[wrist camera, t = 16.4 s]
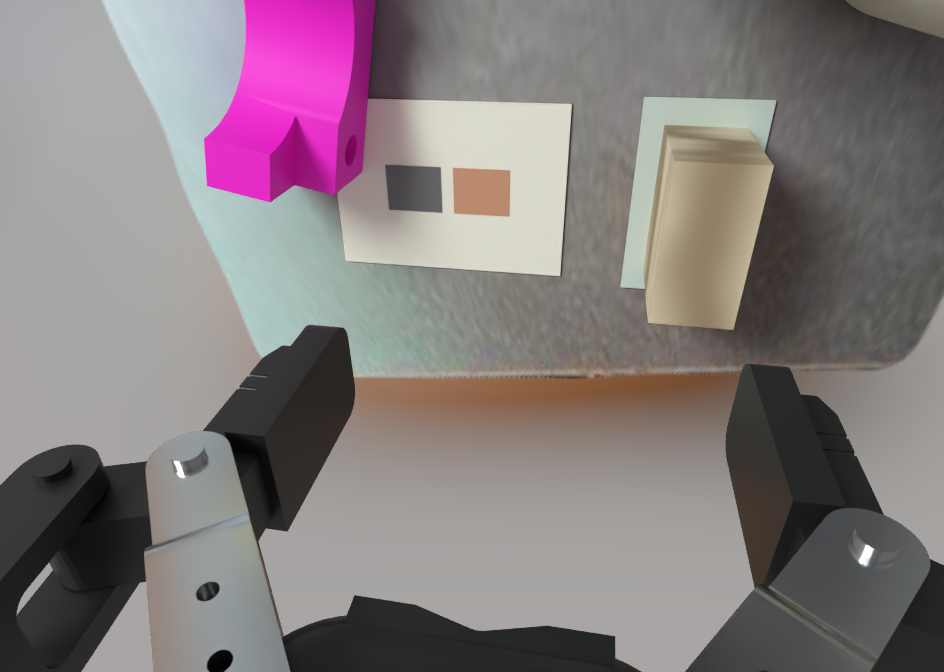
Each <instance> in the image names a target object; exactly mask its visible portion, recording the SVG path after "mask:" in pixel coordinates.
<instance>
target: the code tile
mask: <svg viewBox="0 0 944 672" xmlns="http://www.w3.org/2000/svg"><path fill="white" fill-rule="evenodd" d="M571 109H572V104H554V103H517V102H480V101H444V100H407V99H371V98H368V105H367V117H366V130H365V143H364V156H363V169H362V173H361V174H359V175H358V176H357V177H356V178H355V179H353V180H352V181H351V182H350V183H349V184H347V185H346V186H345V187H344V188H343V189H341V190H340V191H339V192H338V193H337V195H338V203H339V211H340V219H341V226H342V234H343V242H344V250H345V257H346V261H353V262H367V263H382V264H396V265H410V266H424V267H438V268H452V269H467V270H481V271H495V272H509V273H523V274H538V275H552V276H560V271H561V256H562V242H563V227H564V212H565V197H566V183H567V168H568V153H569V138H570V124H571Z"/></svg>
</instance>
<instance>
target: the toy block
mask: <svg viewBox="0 0 944 672" xmlns="http://www.w3.org/2000/svg"><path fill="white" fill-rule="evenodd" d="M375 2H376V0H244V3H245V14H246V44H245V55H244V62H243V67H242V73H241V77H240V81H239V84H238V87H237V91H236V93H235V96H234V99H233V101H232V103H231V105H230V108H229V109H228V111H227V113H226V115H225V116H224V118H223V119H222V121H221V122H220V124H219V125H218V126H217V127H216V128H215V130H213V131H212V132H211V133H210V134H209V135H208V136H207V137H205V138H204V143H205V159H206V176H207V186H209V187H213V188H217V189H221V190H225V191H229V192H232V193H236V194H240V195H244V196H248V197H252V198H256V199H259V200H263V201H267V202H271V201H273V200H274V199H275V198H277V197H278V196H280V195H281V194H282V193H284V192H285V191H287V190H288V189H290V188H291V187H292V186H294V185H297V186H301V187H304V188H308V189H312V190H316V191H320V192H324V193H328V194H332V195H335V194H337V193H338V192H339V191H340V190H341V189H343V188H344V187H345V186H346V185H347V184H349V183H350V182H351V181H352V180H353V179H355V178H356V177H357V176H358V175H359V174H361V173H362V169H363V156H364V143H365V130H366V117H367V105H368V92H369V79H370V66H371V53H372V41H373V28H374V15H375Z"/></svg>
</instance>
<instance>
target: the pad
mask: <svg viewBox="0 0 944 672" xmlns="http://www.w3.org/2000/svg"><path fill="white" fill-rule="evenodd" d="M776 101H777V100H755V99H716V98H676V97H644V102H643V110H642V118H641V126H640V134H639V142H638V150H637V158H636V166H635V174H634V182H633V190H632V198H631V206H630V214H629V222H628V230H627V238H626V246H625V254H624V262H623V270H622V279H621V287H625V288H639V289H645V285H644V275H643V263H644V257H645V250H646V243H647V237H648V230H649V224H650V217H651V210H652V204H653V197H654V190H655V184H656V177H657V170H658V164H659V157H660V150H661V144H662V137H663V130H664V125H679V126H705V127H731V128H748V130H749V131H750V133H751V134H752V135H753V137H754V138H755V140H756V141H757V143H758V144H759V145H760V147H761V148H762V150H763V151H764V152H765V148H766V144H767V140H768V135H769V131H770V127H771V122H772V118H773V114H774V109H775V105H776Z"/></svg>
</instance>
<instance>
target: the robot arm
mask: <svg viewBox="0 0 944 672" xmlns="http://www.w3.org/2000/svg"><path fill="white" fill-rule="evenodd" d="M354 399H355V384H354V377H353V370H352V363H351V356H350V349H349V342H348V336H347V333H346V330H345V329H344V328H340V327H329V326H317V325H308V326H306V327H305V328H304V330H303V331H302V332H301V334H300V335H299V336H298V337H297V339H296V340H295V341H294V343H293V344H292V345H291V346H281V347H280V348H278V349H276V350H275V351H273V352H272V353H270V354H268V355H267V356H265V357H264V358H262V359H261V361H260V362H259V363H258V364H257V366H256V367H255V368H254V369H253V370H252V372H251V373H250V377H247V378H246V379H245V380H244V382H243V383H242V384H241V385H240V389H237V390H236V391H235V392H234V394H233V395H232V396H231V397H230V398H229V400H228V401H227V402H226V403H225V404H224V406H223V407H222V408H221V409H220V411H219V412H218V413H217V414H216V416H215V417H214V418H213V419H212V420H211V422H210V423H209V424H208V425H207V427H206V428H205V429H204V430H203V431H198V432H191V433H187V434H183V435H180V436H177V437H175V438H173V439H171V440H169V441H167V442H165V443H164V444H163V445H161V446H160V447H158V448H157V449H156V450H155V451H154V452H153V453H152V455H151V456H150V457H149V459H148V461H146V462H139V463H129V464H121V465H113V466H105V467H104V466H103V463H102V461H101V459H100V457H99V454H98V452H97V451H96V450H95V449H93V448H91V447H89V446H86V445H66V446H61V447H57V448H53V449H50V450H48V451H45V452H42V453H40V454H38V455H36V456H34V457H33V458H31V459H29V460H28V461H26V462H25V463H23V464H22V465H21V466H20V467H19V468H18V469H17V470H15V471H14V472H13V473H12V474H11V475H10V476H9V477H8V478H7V479H6V480H5V481H4V482H3V483H2V484H1V485H0V672H81V671H82V670H83V668H84V666H85V665H86V663H87V662H88V661H89V659H90V658H91V656H92V655H93V653H94V651H95V650H96V648H97V647H98V645H99V644H100V642H101V641H102V639H103V638H104V636H105V635H106V633H107V632H108V630H109V629H110V627H111V625H112V624H113V622H114V621H115V619H116V618H117V616H118V615H119V613H120V612H121V610H122V608H123V607H124V606H125V604H126V603H127V601H128V600H129V598H130V597H131V595H132V593H133V592H134V590H135V589H136V587H137V586H138V584H139V583H140V582H146V586H147V597H148V610H149V623H150V635H151V647H152V660H153V672H641V671H639V670H637V669H636V668H634V667H632V666H630V665H628V664H627V663H624V662H622V661H620V660H618V659H615V636H609V635H602V634H596V633H590V632H584V631H577V630H571V629H564V628H558V627H552V626H540V627H527V628H515V629H503V630H491V631H477V630H473V629H470V628H468V627H465V626H463V625H461V624H458V623H456V622H454V621H451V620H449V619H447V618H444V617H442V616H440V615H438V614H435V613H433V612H431V611H428V610H426V609H424V608H421V607H419V606H417V605H413V604H406V603H400V602H394V601H387V600H381V599H374V598H368V597H362V596H356V595H355V596H354V598H353V601H352V603H351V606H350V609H349V611H348V614H347V616H338V617H334V618H329V619H324V620H321V621H318V622H315V623H311V624H309V625H306V626H304V627H302V628H299V629H297V630H295V631H293V632H291V633H289V634H288V635H286V636H284V634H283V630H282V627H281V623H280V619H279V616H278V612H277V608H276V605H275V601H274V598H273V594H272V590H271V587H270V583H269V579H268V575H267V572H266V568H265V564H264V561H263V557H262V554H261V550H260V546H259V543H258V541H259V539H260V537H261V536H262V534H263V532H264V530H265V529H266V528H267V529H274V530H282V531H288V529H289V528H290V526H291V524H292V522H293V520H294V518H295V517H296V515H297V513H298V511H299V509H300V507H301V505H302V504H303V502H304V500H305V498H306V496H307V494H308V493H309V491H310V489H311V487H312V485H313V483H314V481H315V480H316V478H317V476H318V474H319V472H320V470H321V469H322V467H323V465H324V463H325V461H326V459H327V457H328V456H329V454H330V452H331V450H332V448H333V447H334V445H335V443H336V441H337V439H338V437H339V435H340V434H341V432H342V430H343V428H344V426H345V424H346V422H347V421H348V419H349V417H350V415H351V412H352V409H353V405H354ZM846 436H847V435H846V433H845V431H844V428H843V426H842V424H841V422H840V420H839V418H838V416H837V414H836V413H835V412H834V411H833V410H831V409H830V408H829V407H828V406H827V405H826V404H825V403H824V402H823V401H822V400H821V399H820V398H818V397H817V396H810V395H801V394H800V392H799V390H798V387H797V384H796V382H795V380H794V377H793V375H792V372H791V370H790V369H789V368H788V367H781V366H769V365H758V364H745V366H744V367H743V369H742V372H741V375H740V379H739V384H738V387H737V391H736V395H735V399H734V403H733V407H732V411H731V415H730V418H729V422H728V427H727V433H726V457H727V462H728V467H729V472H730V476H731V481H732V485H733V490H734V495H735V499H736V504H737V508H738V513H739V517H740V522H741V527H742V531H743V536H744V540H745V545H746V549H747V554H748V559H749V564H750V568H751V573H752V578H753V582H754V587H755V589H754V590H753V591H752V592H751V593H750V594H749V596H748V597H747V598H746V599H745V600H744V602H743V603H742V604H741V605H740V606H739V608H738V609H737V610H736V611H735V612H734V614H733V615H732V616H731V617H730V618H729V620H728V621H727V622H726V623H725V624H724V626H723V627H722V628H721V629H720V630H719V632H718V633H717V634H716V635H715V636H714V638H713V639H712V640H711V641H710V642H709V644H708V645H707V646H706V647H705V648H704V650H703V651H702V652H701V653H700V654H699V656H698V657H697V658H696V659H695V660H694V662H693V663H692V664H691V665H690V667H689V668H688V669H687V670H686V671H685V672H944V565H942V564H939V563H937V562H935V561H933V560H931V559H930V558H929V555H928V553H927V550H926V548H925V547H924V545H923V544H922V543H921V541H920V540H919V539H918V538H917V537H916V536H915V535H914V534H913V533H912V532H911V531H910V530H908V529H907V528H906V527H904V526H903V525H902V524H900V523H898V522H897V521H895V520H893V519H891V518H889V517H887V516H885V515H884V514H883V512H882V510H881V508H880V506H879V503H878V501H877V499H876V497H875V495H874V493H873V491H872V488H871V486H870V484H869V482H868V480H867V478H866V476H865V473H864V471H863V469H862V467H861V465H860V463H859V460H858V458H857V457H856V456H854V450H853V448H852V445H851V443H850V441H849V439H846ZM48 563H50V565H51V567H52V569H53V571H52V572H51V574H50V575H49V576H48V577H47V578H46V580H45V581H44V582H43V584H42V585H41V586H40V587H39V588H38V590H37V591H36V592H35V593H34V595H33V596H32V597H31V598H30V600H29V601H28V602H27V603H26V605H25V606H24V607H23V608H22V610H21V611H20V612H19V613H18V615H17V616H16V614H17V607H18V604H19V602H20V599H21V597H22V596H23V594H24V592H25V591H26V590H27V588H28V587H29V586H30V585H31V583H32V582H33V581H34V580H35V578H36V577H37V576H38V575H39V574H40V572H41V571H42V570H43V569H44V568H45V566H46V565H47V564H48Z"/></svg>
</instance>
